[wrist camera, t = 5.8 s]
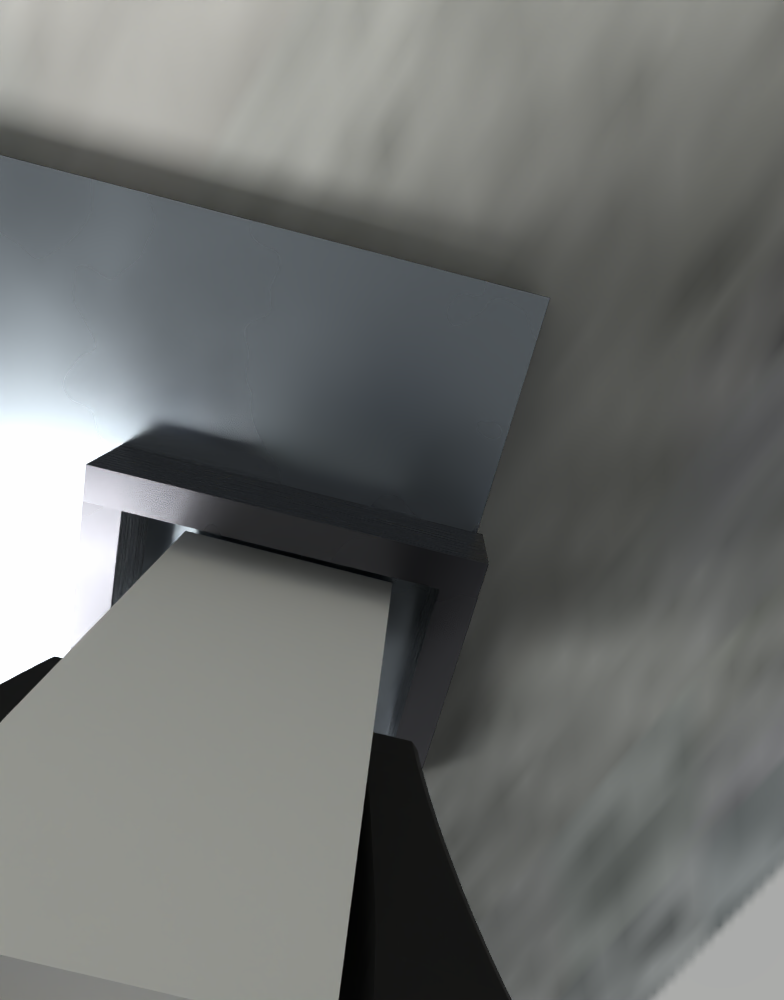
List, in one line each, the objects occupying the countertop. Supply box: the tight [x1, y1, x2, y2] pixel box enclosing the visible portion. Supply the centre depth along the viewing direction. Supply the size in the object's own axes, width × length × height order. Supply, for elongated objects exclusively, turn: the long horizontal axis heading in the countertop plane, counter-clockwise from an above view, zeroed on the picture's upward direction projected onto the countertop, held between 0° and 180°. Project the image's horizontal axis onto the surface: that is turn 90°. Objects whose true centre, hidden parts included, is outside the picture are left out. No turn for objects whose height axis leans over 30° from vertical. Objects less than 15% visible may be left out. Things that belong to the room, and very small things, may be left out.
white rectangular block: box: [0, 531, 392, 1000], centre depth 8 cm, size 4×4×8 cm
